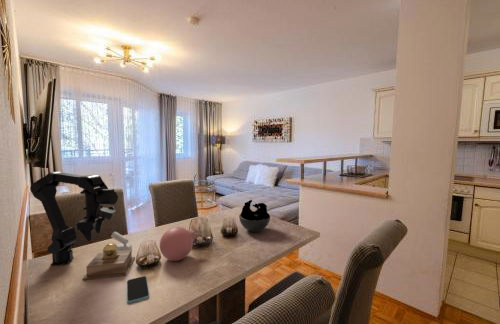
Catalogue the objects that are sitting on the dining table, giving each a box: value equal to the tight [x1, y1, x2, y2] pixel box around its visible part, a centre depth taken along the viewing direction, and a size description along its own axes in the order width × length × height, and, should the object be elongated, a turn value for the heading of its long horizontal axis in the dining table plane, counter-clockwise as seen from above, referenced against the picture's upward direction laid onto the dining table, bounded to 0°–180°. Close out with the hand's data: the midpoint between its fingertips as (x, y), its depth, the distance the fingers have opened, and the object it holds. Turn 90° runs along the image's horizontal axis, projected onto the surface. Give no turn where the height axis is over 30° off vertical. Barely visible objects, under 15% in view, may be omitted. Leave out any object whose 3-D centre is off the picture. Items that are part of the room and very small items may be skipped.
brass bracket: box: [102, 242, 118, 260], centre depth 101 cm, size 2×5×10 cm, turn 103°
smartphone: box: [126, 275, 150, 304], centre depth 88 cm, size 7×1×15 cm
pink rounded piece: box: [159, 226, 201, 262], centre depth 112 cm, size 15×20×15 cm
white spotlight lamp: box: [110, 231, 133, 251], centre depth 119 cm, size 9×10×10 cm
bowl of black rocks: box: [238, 199, 271, 233], centre depth 147 cm, size 20×20×19 cm
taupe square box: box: [82, 249, 136, 281], centre depth 102 cm, size 15×16×5 cm
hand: (94, 237), depth 104 cm, fingers open, 9 cm apart
